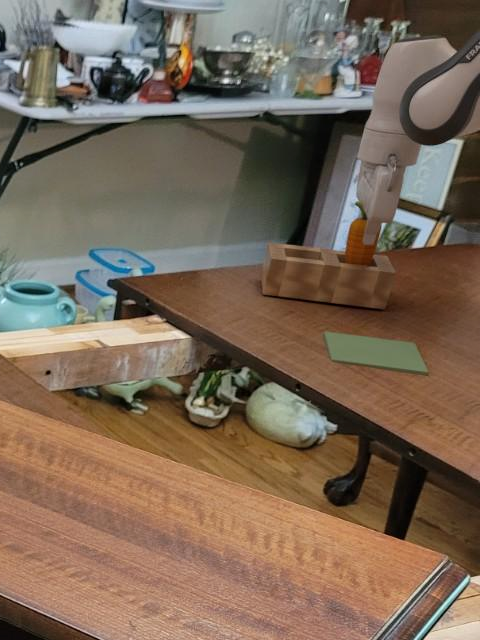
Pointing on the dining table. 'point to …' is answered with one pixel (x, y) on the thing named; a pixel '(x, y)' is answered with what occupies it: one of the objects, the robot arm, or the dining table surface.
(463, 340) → the dining table surface
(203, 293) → the dining table surface
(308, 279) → the rack
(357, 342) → the mat
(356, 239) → the carrot
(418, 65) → the robot arm
